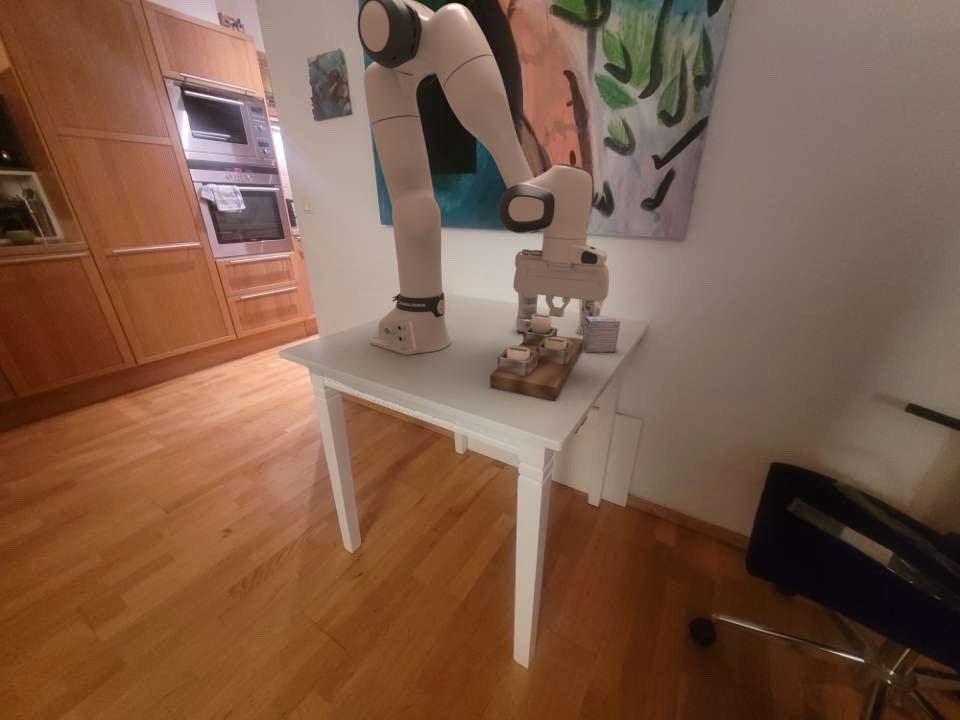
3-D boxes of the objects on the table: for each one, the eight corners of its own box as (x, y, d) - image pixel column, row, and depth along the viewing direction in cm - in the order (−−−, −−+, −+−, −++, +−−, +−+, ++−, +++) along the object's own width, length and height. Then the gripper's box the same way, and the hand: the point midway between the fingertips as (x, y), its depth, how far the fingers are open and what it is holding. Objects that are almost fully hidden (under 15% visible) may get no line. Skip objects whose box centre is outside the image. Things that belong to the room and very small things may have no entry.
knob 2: (528, 332, 93) (529, 317, 91) (534, 327, 97) (535, 312, 95) (547, 335, 91) (548, 319, 89) (552, 329, 95) (553, 314, 94)
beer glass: (604, 333, 109) (611, 283, 103) (587, 337, 106) (593, 286, 100) (587, 327, 115) (592, 279, 109) (570, 331, 112) (575, 282, 106)
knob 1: (502, 369, 79) (503, 351, 77) (510, 360, 83) (511, 343, 81) (525, 373, 77) (526, 354, 75) (531, 364, 81) (533, 346, 80)
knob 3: (541, 358, 84) (542, 341, 83) (546, 351, 88) (548, 335, 87) (562, 362, 82) (564, 344, 81) (567, 354, 86) (569, 337, 85)
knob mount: (490, 387, 78) (490, 361, 75) (531, 342, 103) (532, 321, 101) (555, 400, 72) (557, 373, 70) (581, 349, 98) (584, 328, 95)
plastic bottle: (538, 335, 108) (543, 266, 100) (516, 335, 108) (518, 266, 100) (536, 328, 114) (540, 263, 106) (514, 328, 114) (517, 263, 106)
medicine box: (609, 346, 100) (614, 315, 97) (615, 352, 96) (620, 320, 92) (581, 346, 100) (584, 316, 96) (586, 353, 96) (590, 321, 92)
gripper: (511, 250, 77) (507, 313, 83) (611, 257, 70) (600, 326, 75) (520, 247, 83) (516, 306, 88) (615, 253, 75) (604, 318, 81)
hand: (556, 315), depth 82 cm, fingers closed
